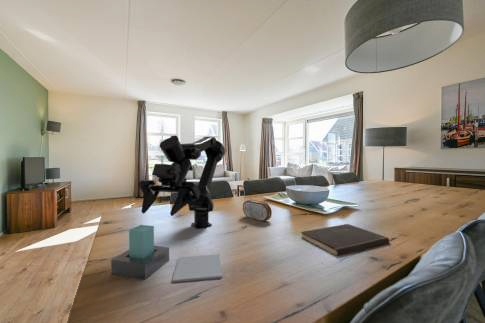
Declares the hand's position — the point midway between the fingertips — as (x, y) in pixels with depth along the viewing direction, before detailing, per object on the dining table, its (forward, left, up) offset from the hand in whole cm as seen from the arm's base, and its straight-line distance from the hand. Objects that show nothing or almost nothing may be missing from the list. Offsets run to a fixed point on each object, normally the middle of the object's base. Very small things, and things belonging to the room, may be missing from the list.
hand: (156, 213), depth 59 cm
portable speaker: (-14, +45, -12) cm, 48 cm away
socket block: (+4, -4, -12) cm, 13 cm away
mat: (+12, +8, -12) cm, 19 cm away
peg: (+4, -4, -12) cm, 13 cm away
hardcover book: (+21, +56, -13) cm, 61 cm away
